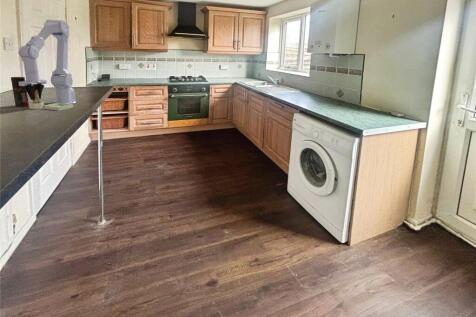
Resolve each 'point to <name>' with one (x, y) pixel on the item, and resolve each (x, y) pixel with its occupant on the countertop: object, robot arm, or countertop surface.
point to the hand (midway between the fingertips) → (35, 99)
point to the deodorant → (19, 92)
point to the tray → (58, 106)
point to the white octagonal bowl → (36, 105)
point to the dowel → (36, 97)
